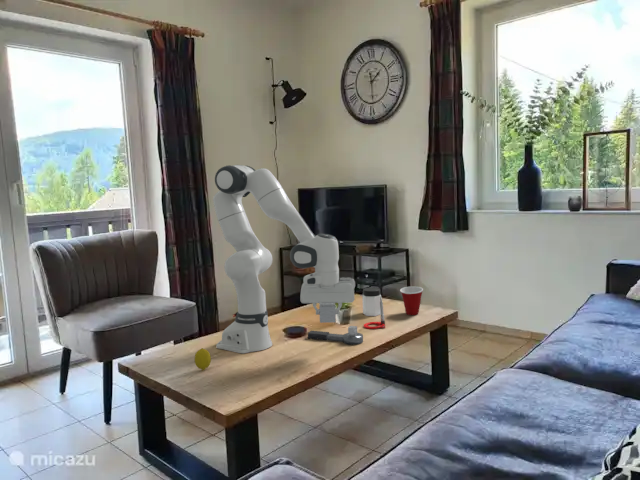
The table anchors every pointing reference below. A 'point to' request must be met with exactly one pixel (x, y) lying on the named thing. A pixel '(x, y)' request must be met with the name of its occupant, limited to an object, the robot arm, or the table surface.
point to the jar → (371, 301)
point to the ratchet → (339, 336)
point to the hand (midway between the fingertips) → (327, 314)
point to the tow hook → (380, 324)
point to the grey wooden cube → (327, 312)
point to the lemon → (202, 359)
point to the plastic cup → (411, 299)
